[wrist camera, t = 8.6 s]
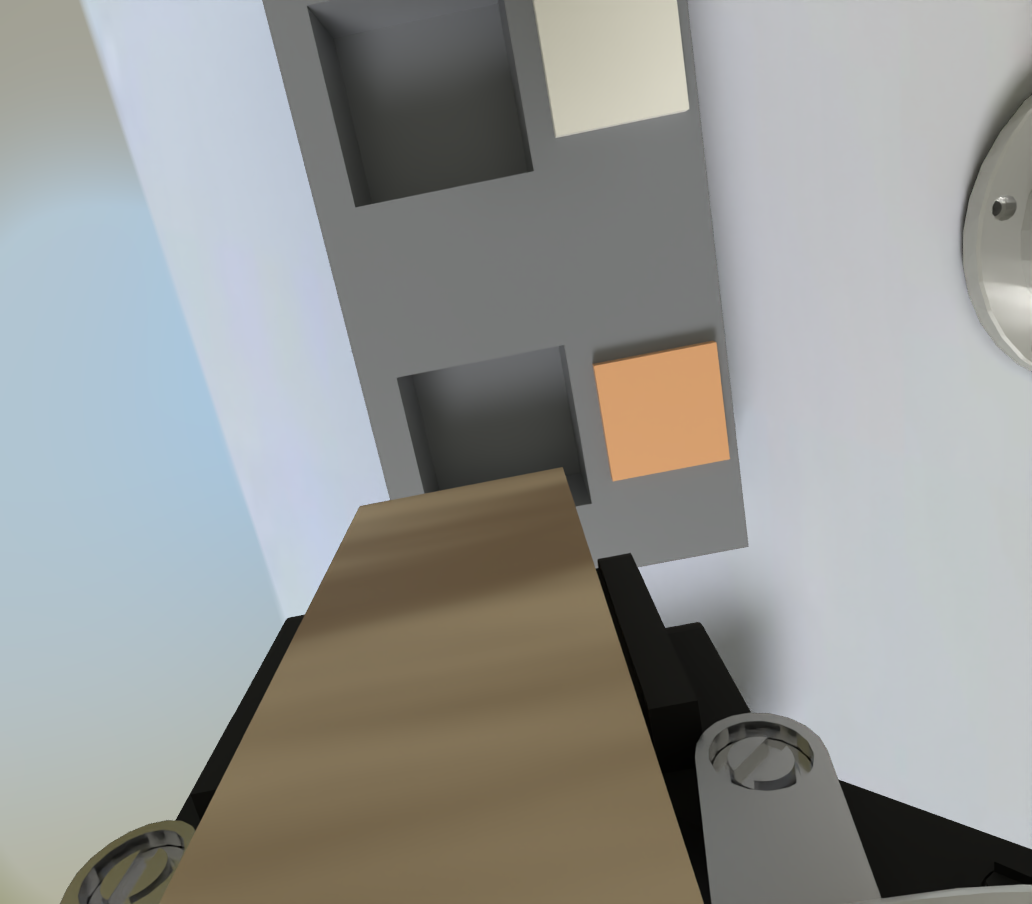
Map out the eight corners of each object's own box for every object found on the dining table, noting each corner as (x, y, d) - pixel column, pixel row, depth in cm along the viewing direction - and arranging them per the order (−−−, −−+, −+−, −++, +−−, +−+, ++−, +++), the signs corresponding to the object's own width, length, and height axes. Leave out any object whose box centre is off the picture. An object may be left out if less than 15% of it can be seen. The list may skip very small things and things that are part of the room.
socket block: (284, -35, 25) (233, -101, 20) (636, -111, 24) (669, -196, 19) (429, 556, 31) (416, 613, 26) (712, 503, 30) (752, 551, 25)
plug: (359, 506, 14) (79, 1061, 5) (562, 467, 14) (716, 947, 4) (407, 683, 15) (262, 1432, 6) (595, 647, 15) (777, 1347, 6)
